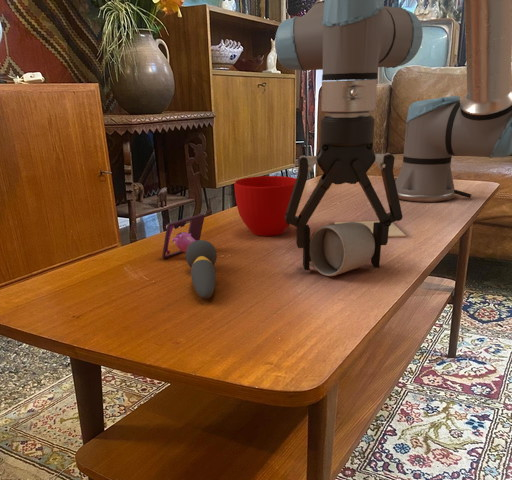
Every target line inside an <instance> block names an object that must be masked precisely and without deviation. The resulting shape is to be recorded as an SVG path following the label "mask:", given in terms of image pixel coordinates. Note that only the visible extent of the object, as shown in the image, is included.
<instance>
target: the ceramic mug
mask: <svg viewBox="0 0 512 480" xmlns="http://www.w3.org/2000/svg"><path fill="white" fill-rule="evenodd" d="M346 222H347V223H340V224H334V223H333V224H326V225H321V226H319V227H318V228H316V229H315V230H314V232H313V233H312V234H311V235H310V262H309V263H311V264H312V265H313V267H314V268H315V270H316V271H317V272H318V273H320V274H321V275H323V276H326V277H334V276H338V275H341V274H344V273H346V272H349V271H352V270H355V269H359V268H361V267H363V266H365V265H366V264H368V263H369V262H371V258H372V257H373V255H374V252H375V239H374V235H373V233H372V232H371V230H370V229H369V228H368V227H367V226H366V225H364V224H362V223H358V222H359V221H346Z"/></svg>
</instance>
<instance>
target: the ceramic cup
mask: <svg viewBox="0 0 512 480" xmlns="http://www.w3.org/2000/svg"><path fill="white" fill-rule="evenodd" d="M296 178H297V177H293V176H283V175H261V176H258V175H257V176H248V177H244V178H239V179H237V180H235V181H234V184H233V185H234V196H235V202H236V208H237V211H238V214H239V217H240V219H241V220H242V222H243V223H244V225H245V226H246V228H247V229H249V231H251V233H252V234H253V235H256V236H262V237H264V236H265V237H271V236H278V235H282V234H284V233H285V231H286V230H287V229H288V228H289V226H290V225H288V224H287V223H286V221H285V214H286V210H287V207H288V204H289V201H290V197H291V194H292V191H293V187H294V184H295V181H296Z"/></svg>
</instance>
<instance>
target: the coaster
mask: <svg viewBox="0 0 512 480" xmlns="http://www.w3.org/2000/svg"><path fill="white" fill-rule="evenodd" d="M347 222H348V221H334V222H333V224H340V223H347ZM357 222H358V223H362V224H364V225H366V226H367V227H368V228H369V229H370V230H371V232H372V233H373V225H374V222H379V220H367V221H362V220H361V221H360V220H359V221H357ZM406 237H407V235H406V234H405V233H404V231H402V230H401V229H400V228H399V227H398V226H396V224H395V223H394V222H392V223H391V225H390V226H389V232H388V238H406Z"/></svg>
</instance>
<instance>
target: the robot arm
mask: <svg viewBox="0 0 512 480" xmlns="http://www.w3.org/2000/svg"><path fill="white" fill-rule="evenodd" d="M463 1H464V29H465V31H464V33H465V58H466V59H465V61H466V92H467V93H466V94H464V95H463V97H462V98H461V97H460V95H451V96H443V97H437V98H430V99H422V100H418V101H414V102H412V103H411V104H410V105H409V107H408V110H407V115H406V121H405V134H404V145H403V157H402V165H401V167H400V170H399V173H398V175H397V177H395V174H394V166H395V156H394V155H393V153H392V154H391V153H389V152H384V153H375V151H374V135H375V134H374V133H375V122H376V121H375V120H376V119H375V118H374V116H373V115H371V113H373V112H374V111H376V108H377V107H376V105H377V88H378V87H377V86H378V77H379V76H378V75H379V68H386V69H389V68H392V69H395V68H397V67H402V66H404V65H406V64H408V63H409V62H411V61H412V60H414V58H415V57H416V55H417V54H418V52H419V50H420V49H421V46H422V41H423V37H424V36H423V34H424V33H423V32H424V31H423V26H422V23H421V21H420V19H419V18H418V16H417V15H416V14H415V13H413V12H412V11H410V10H407V9H406V8H403V7H402V6H398V7H397V6H396V7H395V6H387V5H385V1H384V0H317V1H316V2H314V4H313V5H312V6H311V7H310V8H309V9H308V11H306V13H305V14H304V15H302V16H298V15H294V16H293V17H291V18H287V19H284V20H282V21H281V22H280V24H279V25H278V27H277V30H276V33H275V38H274V50H275V54H276V56H277V60H278V63H279V64H280V65H281V66H282V67H283V68H284V69H286V70H288V71H301V72H307V71H322V75H321V96H320V98H321V99H320V112H322V113H323V114H324V116H322V117H321V119H320V131H319V132H320V133H319V135H320V136H319V149H318V152H317V154H316V155H308V156H305V155H304V154H301V155H299V156H298V158H297V169H298V170H297V174H296V177H295V178H296V181H295V184H294V187H293V191H292V194H291V197H290V201H289V204H288V207H287V210H286V214H285V221H286V223H287V224H288V225H289V226H294V227H295V228H296V229H295V233H296V234H295V235H296V236H295V243H296V246H297V248H298V249H302V266H303V269H304V271H309V270H310V263H311V262H310V239H311V227H310V225H309V224H308V222H309V220H310V219H311V218H312V215H313V214H314V212H315V211H316V209H317V207H318V206H319V204H320V203H321V201H322V200H323V197H325V194H326V193H327V191H328V190H329V189H330V188H331V186H332V184H334V185H342V184H349V185H356V184H357V183H358V184H359V186H360V187H361V189H362V192H364V195H365V196H366V198H367V200H368V202H369V204H370V206H371V207H372V209H373V211H374V213H375V216H376V218H377V219H378V221H379V222H374V225H373V235H374V239H375V252H374V255H373V257H372V258H371V260H370V263H371V265H372V266H373V268H374V269H375V268H376V269H377V268H378V269H379V268H380V262H381V252H382V251H381V250H382V246H387V244H388V242H389V237H388V232H389V226H390V225H391V223H395V222H400V221H402V220H403V212H402V207H401V203H400V200H403V201H409V202H419V203H436V202H445V201H449V200H453V199H454V198H455V195H459V196H462V197H465V198H468V199H471V197H472V194H471V193H469V192H466V191H465V192H464V191H462V190H459V189H456V188H455V183H454V179H453V172H452V158H453V156H462V157H463V156H464V157H482V158H489V159H493V158H503V159H504V158H507V157H509V156H511V155H512V85H511V84H512V0H463ZM375 163H376V166H377V168H378V169H380V171H381V172H380V173H381V178H382V183H383V187H384V191H385V196H386V200H387V204H388V209H389V211H388V212H387V211H386V209H385V208H384V205H383V203H382V202H381V199H380V198H379V196H378V194H377V192H376V190H375V188H374V187H373V184H372V182H371V180H370V178H369V176H368V174H367V173H368V171H369V170H370V169H371V168H372V167H373V165H374V164H375ZM315 165H318V167H319V168H320V170H321V171H322V174H321V176H320V178H319V179H318V182H317V184H316V186H315V187H314V189H313V191H312V192H311V194H310V196H309V198H308V199H307V200H306V203H305V205H304V206H303V207H302V209H301V211H300V212H299V214H298V215H297V212H298V210H299V205H300V202H301V199H302V197H303V193H304V190H305V186H306V184H307V181H308V177H309V176H308V175H309V173H311V172H312V171H313V170H314V167H315Z"/></svg>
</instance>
